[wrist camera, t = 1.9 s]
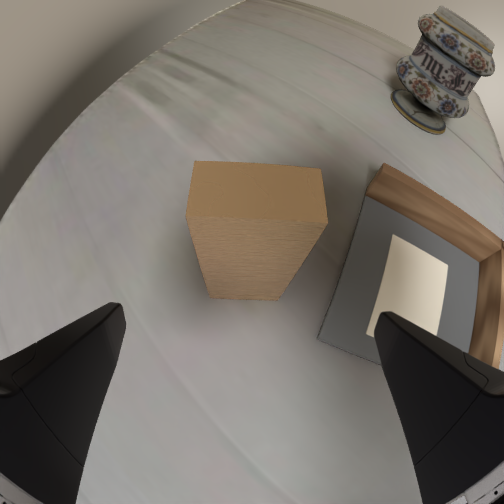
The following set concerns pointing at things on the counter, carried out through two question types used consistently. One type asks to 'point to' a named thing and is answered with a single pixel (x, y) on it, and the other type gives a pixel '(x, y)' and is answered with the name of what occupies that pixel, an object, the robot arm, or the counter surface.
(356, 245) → the mat
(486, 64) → the apothecary jar
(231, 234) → the wooden l-shaped block
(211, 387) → the counter surface
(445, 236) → the corner walls
